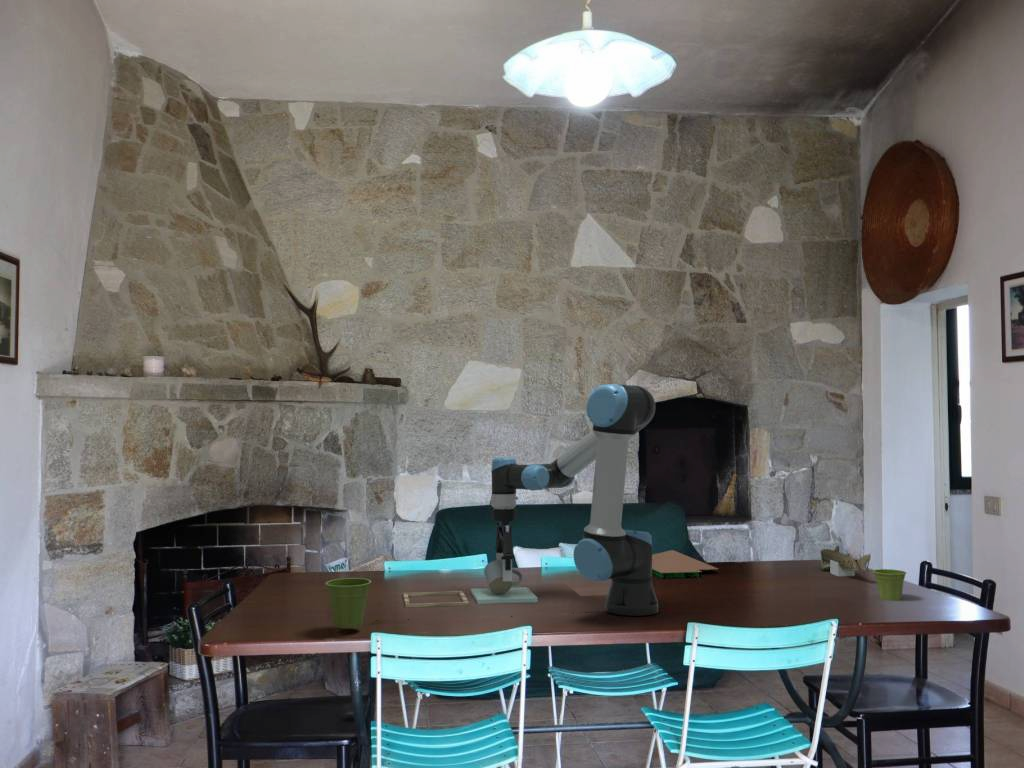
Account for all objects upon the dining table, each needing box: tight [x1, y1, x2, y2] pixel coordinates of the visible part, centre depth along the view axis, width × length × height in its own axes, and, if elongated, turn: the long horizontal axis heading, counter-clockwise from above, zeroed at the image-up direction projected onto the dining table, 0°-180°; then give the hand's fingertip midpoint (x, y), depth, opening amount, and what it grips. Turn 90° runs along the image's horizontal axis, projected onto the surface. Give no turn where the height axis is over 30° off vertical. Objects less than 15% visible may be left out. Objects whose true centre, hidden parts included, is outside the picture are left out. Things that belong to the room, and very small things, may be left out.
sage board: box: [470, 586, 539, 605], centre depth 269 cm, size 18×18×1 cm
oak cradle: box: [402, 590, 470, 608], centre depth 264 cm, size 18×18×1 cm
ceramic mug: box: [483, 560, 523, 594], centre depth 269 cm, size 11×8×8 cm
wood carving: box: [820, 545, 872, 577], centre depth 304 cm, size 9×35×11 cm, turn 4°
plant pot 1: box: [325, 577, 372, 629], centre depth 231 cm, size 12×12×11 cm
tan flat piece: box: [652, 549, 719, 580], centre depth 318 cm, size 23×33×8 cm
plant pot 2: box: [872, 568, 907, 602], centre depth 268 cm, size 9×9×9 cm
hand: (504, 577), depth 270 cm, fingers open, 13 cm apart
